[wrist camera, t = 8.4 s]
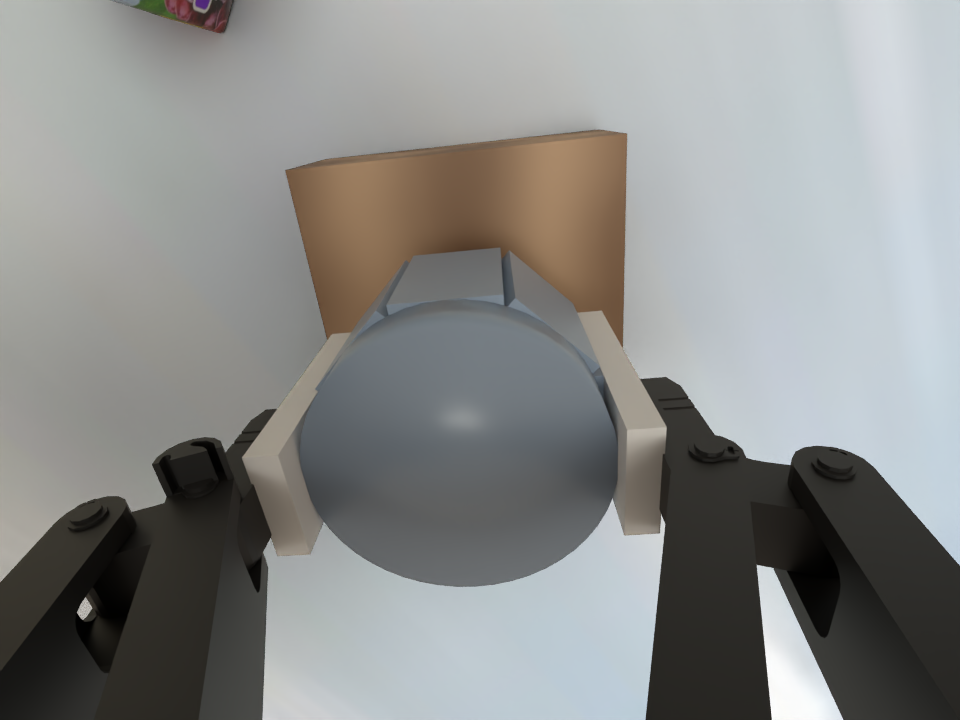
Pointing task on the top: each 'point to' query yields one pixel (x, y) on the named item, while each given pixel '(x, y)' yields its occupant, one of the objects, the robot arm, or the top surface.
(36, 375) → the top surface
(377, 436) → the cap
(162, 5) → the snack box
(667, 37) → the top surface
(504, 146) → the block
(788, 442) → the top surface
